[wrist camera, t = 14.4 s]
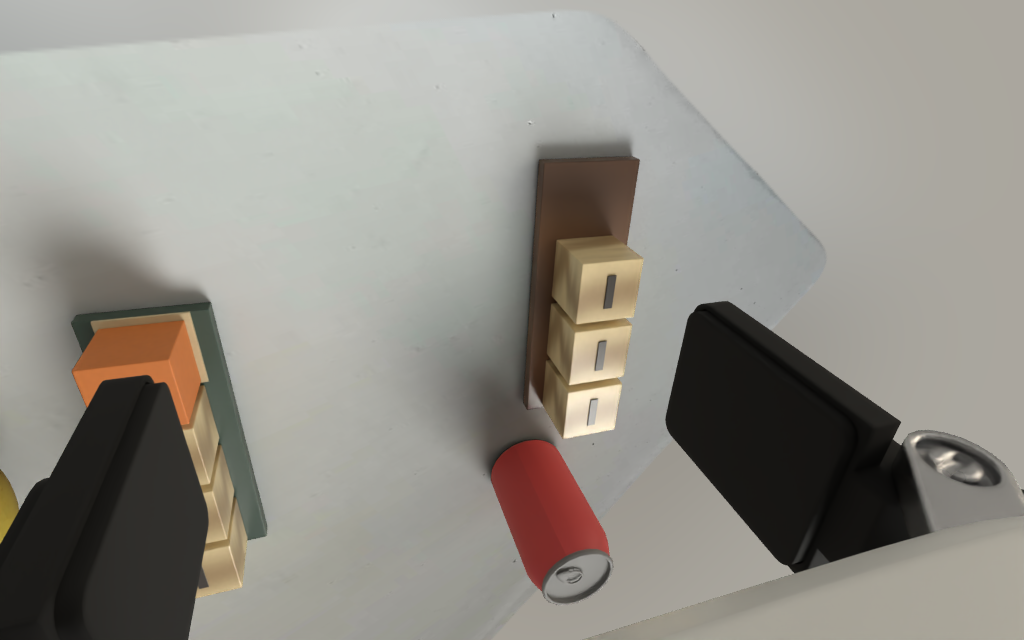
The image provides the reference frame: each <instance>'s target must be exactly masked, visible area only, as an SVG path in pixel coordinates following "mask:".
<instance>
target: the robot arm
mask: <svg viewBox="0 0 1024 640" xmlns="http://www.w3.org/2000/svg"><path fill="white" fill-rule="evenodd" d="M900 423H901V422H900V421H899V420H898V419H896V418H895V417H893V416H892V415H891V414H889V413H888V412H886V411H885V410H883V409H882V408H881V407H879V406H877V405H876V404H875V403H873V402H872V401H871V400H869V399H868V398H866V397H865V396H863V395H862V394H860V393H859V392H858V391H856V390H855V389H854V388H852V387H851V386H849V385H848V384H846V383H845V382H844V381H842V380H841V379H839V378H838V377H836V376H835V375H833V374H832V373H831V372H829V371H828V370H826V369H825V368H824V367H822V366H821V365H819V364H818V363H816V362H815V361H813V360H812V359H811V358H809V357H807V356H806V355H804V354H803V353H802V352H800V351H799V350H798V349H796V348H795V347H793V346H792V345H790V344H789V343H788V342H786V341H785V340H783V339H782V338H781V337H779V336H778V335H776V334H775V333H773V332H772V331H771V330H769V329H768V328H766V327H765V326H763V325H762V324H761V323H759V322H758V321H756V320H755V319H753V318H752V317H751V316H749V315H748V314H746V313H745V312H743V311H742V310H741V309H739V308H738V307H736V306H735V305H733V304H732V303H730V302H728V301H722V302H714V303H707V304H701V305H699V306H697V308H696V309H695V310H694V312H693V313H691V314H690V316H689V318H688V320H687V325H686V329H685V334H684V338H683V343H682V347H681V351H680V356H679V360H678V365H677V369H676V373H675V378H674V382H673V387H672V391H671V395H670V400H669V404H668V409H667V413H666V426H667V429H668V431H669V433H670V435H671V436H672V437H673V438H674V439H675V441H676V442H677V443H678V444H679V445H680V446H681V448H682V449H683V450H684V451H685V452H686V454H687V455H688V456H689V457H690V458H691V459H692V461H693V462H694V463H695V464H696V465H697V466H698V468H699V469H700V470H701V471H702V472H703V473H704V475H705V476H706V477H707V478H708V479H709V480H710V482H711V483H712V484H713V485H714V486H715V488H716V489H717V490H718V491H719V492H720V493H721V495H722V496H723V497H724V498H725V499H726V500H727V502H728V503H729V504H730V505H731V506H732V507H733V509H734V510H735V511H736V512H737V513H738V515H739V516H740V517H741V518H742V519H743V520H744V522H745V523H746V524H747V525H748V526H749V528H750V529H751V530H752V531H753V532H754V533H755V535H756V536H757V537H758V538H759V539H760V540H761V542H762V543H763V544H764V545H765V546H766V547H767V549H768V550H769V551H770V552H771V553H772V555H773V556H774V557H775V558H776V559H777V560H778V561H779V562H780V563H782V564H784V565H788V566H789V567H790V569H791V570H792V571H793V572H794V573H795V574H792V575H789V576H785V577H782V578H779V579H776V580H772V581H769V582H766V583H763V584H759V585H756V586H753V587H749V588H746V589H743V590H740V591H737V592H734V593H730V594H727V595H724V596H721V597H717V598H714V599H711V600H708V601H705V602H702V603H698V604H695V605H692V606H689V607H686V608H682V609H679V610H676V611H673V612H670V613H667V614H663V615H660V616H657V617H654V618H650V619H647V620H644V621H641V622H638V623H635V624H631V625H628V626H625V627H622V628H619V629H616V630H612V631H609V632H606V633H603V634H600V635H597V636H594V637H590V638H588V639H584V640H1024V490H1022V489H1020V487H1019V485H1018V483H1017V481H1016V480H1015V478H1014V476H1013V474H1012V473H1011V472H1010V470H1009V469H1008V468H1007V467H1006V465H1005V464H1004V463H1003V462H1001V461H1000V460H999V459H998V458H997V457H996V456H994V455H993V454H992V453H990V452H988V451H987V450H985V449H983V448H982V447H980V446H979V445H976V444H974V443H972V442H970V441H968V440H965V439H963V438H961V437H958V436H954V435H951V434H948V433H944V432H938V431H932V430H918V431H915V432H912V433H910V434H908V436H907V437H906V438H905V440H904V442H903V443H902V445H899V444H898V443H897V442H895V441H894V440H893V438H894V435H895V433H896V431H897V429H898V427H899V425H900ZM208 526H209V517H208V508H207V504H206V501H205V498H204V495H203V492H202V489H201V486H200V482H199V479H198V476H197V473H196V470H195V467H194V464H193V461H192V457H191V454H190V451H189V448H188V445H187V442H186V439H185V436H184V433H183V429H182V426H181V423H180V420H179V417H178V414H177V411H176V408H175V404H174V401H173V398H172V395H171V392H170V389H169V387H168V385H167V384H166V383H165V382H160V383H154V381H153V379H152V378H151V376H149V375H141V376H133V377H125V378H117V379H109V380H104V381H102V382H101V384H100V385H99V387H98V389H97V390H96V392H95V394H94V396H93V398H92V400H91V402H90V403H89V405H88V407H87V409H86V411H85V413H84V415H83V416H82V418H81V420H80V422H79V424H78V426H77V428H76V429H75V431H74V433H73V435H72V437H71V439H70V441H69V442H68V444H67V446H66V448H65V450H64V452H63V454H62V455H61V457H60V459H59V461H58V463H57V465H56V467H55V468H54V470H53V472H52V474H51V476H50V478H46V479H43V480H41V481H39V482H38V483H36V484H35V486H34V487H33V488H32V490H31V491H30V492H29V494H28V496H27V497H26V499H25V501H24V503H23V504H22V506H21V508H20V510H19V512H18V513H17V515H16V517H15V519H14V520H13V522H12V524H11V526H10V528H9V529H8V531H7V533H6V535H5V536H4V538H3V540H2V542H1V544H0V640H188V637H189V631H190V626H191V620H192V615H193V609H194V604H195V599H196V593H197V588H198V582H199V577H200V571H201V566H202V560H203V555H204V549H205V544H206V538H207V533H208Z"/></svg>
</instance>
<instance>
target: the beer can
mask: <svg viewBox="0 0 1024 640" xmlns="http://www.w3.org/2000/svg"><path fill="white" fill-rule="evenodd" d="M491 481H492V484H493V488H494V490H495V493H496V495H497V498H498V500H499V503H500V505H501V508H502V511H503V513H504V516H505V518H506V521H507V523H508V526H509V529H510V531H511V534H512V536H513V539H514V541H515V544H516V547H517V549H518V552H519V554H520V557H521V559H522V562H523V564H524V567H525V570H526V572H527V575H528V576H529V578H530V579H531V581H532V582H533V583H534V584H535V585H536V586H537V587H538V588H539V589H540V590H541V591H542V593H543V596H544V598H545V599H546V600H547V601H548V602H550V603H553V604H556V605H570V604H573V603H578V602H580V601H583V600H585V599H587V598H589V597H590V596H592V595H593V594H595V593H596V592H598V591H599V590H600V589H601V588H602V587H603V586H604V585H605V584H606V582H607V581H608V580H609V578H610V577H611V574H612V570H613V561H612V559H611V558H610V555H609V547H608V541H607V538H606V535H605V532H604V530H603V528H602V527H601V525H600V523H599V521H598V520H597V518H596V516H595V514H594V513H593V511H592V509H591V507H590V506H589V504H588V502H587V500H586V498H585V497H584V495H583V493H582V491H581V490H580V488H579V486H578V484H577V483H576V481H575V479H574V477H573V476H572V474H571V472H570V470H569V469H568V467H567V465H566V463H565V461H564V460H563V458H562V456H561V454H560V453H559V451H558V450H557V449H556V447H555V446H554V445H552V444H550V443H548V442H546V441H541V440H528V441H523V442H520V443H518V444H515V445H513V446H512V447H510V448H509V449H507V450H506V451H504V452H503V453H502V455H501V456H500V457H499V458H498V459H497V461H496V462H495V464H494V466H493V468H492V475H491Z"/></svg>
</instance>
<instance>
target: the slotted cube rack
mask: <svg viewBox="0 0 1024 640" xmlns="http://www.w3.org/2000/svg"><path fill="white" fill-rule="evenodd" d="M182 320H184V322H185V325H186V329H187V332H188V336H189V339H190V343H191V346H192V350H193V353H194V357H195V360H196V364H197V368H198V371H199V375H200V378H201V382H200V386H199V390H198V393H197V397H196V401H195V404H194V408H193V411H192V415H191V419H190V422H189V424H184V425H181V426H182V429H183V433H184V436H185V439H186V442H187V445H188V448H189V451H190V454H191V457H192V461H193V464H194V467H195V470H196V473H197V476H198V479H199V482H200V486H201V489H202V492H203V495H204V498H205V501H206V504H207V508H208V517H209V526H208V533H207V538H206V544H205V549H204V555H203V560H202V566H201V571H200V577H199V582H198V588H197V593H196V598H199V597H203V596H208V595H212V594H216V593H220V592H225V591H229V590H233V589H237V588H241V587H242V584H243V575H244V565H245V556H246V547H247V540H251V539H256V538H260V537H265V536H267V523H266V519H265V515H264V511H263V507H262V503H261V499H260V495H259V491H258V488H257V484H256V480H255V476H254V472H253V468H252V464H251V460H250V456H249V452H248V448H247V444H246V440H245V436H244V432H243V428H242V424H241V420H240V416H239V412H238V408H237V404H236V400H235V396H234V392H233V388H232V384H231V380H230V376H229V372H228V368H227V365H226V361H225V357H224V353H223V349H222V345H221V341H220V337H219V333H218V329H217V325H216V321H215V317H214V313H213V309H212V305H211V302H207V303H197V304H187V305H176V306H166V307H155V308H145V309H135V310H124V311H114V312H104V313H93V314H83V315H77V316H76V317H75V318H74V320H73V321H72V322H71V324H72V327H73V329H74V332H75V334H76V337H77V339H78V342H79V344H80V347H81V349H82V352H84V351H85V349H86V348H87V346H88V344H89V343H90V341H91V340H92V338H93V336H94V335H95V333H96V332H97V330H98V329H105V328H115V327H124V326H134V325H143V324H153V323H162V322H172V321H182Z"/></svg>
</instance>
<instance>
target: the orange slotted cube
mask: <svg viewBox="0 0 1024 640" xmlns="http://www.w3.org/2000/svg"><path fill="white" fill-rule="evenodd" d="M72 374H73V376H74V379H75V381H76V383H77V386H78V388H79V390H80V393H81V395H82V398H83V400H84V402H85V405H86V407H88V405H89V403H90V402H91V400H92V398H93V396H94V394H95V392H96V390H97V389H98V387H99V385H100V384H101V382H102V381H104V380H109V379H117V378H125V377H133V376H141V375H149V376H151V378H152V379H153V381H154V383H160V382H165V383H166V384H167V385H168V387H169V389H170V392H171V395H172V398H173V401H174V404H175V408H176V411H177V414H178V417H179V420H180V423H181V425H184V424H189V422H190V419H191V415H192V411H193V408H194V404H195V401H196V397H197V393H198V390H199V386H200V382H201V378H200V375H199V371H198V368H197V364H196V360H195V357H194V353H193V350H192V346H191V343H190V339H189V336H188V332H187V329H186V325H185V322H184V320H182V321H172V322H162V323H153V324H143V325H134V326H124V327H115V328H105V329H98V330H97V332H96V333H95V335H94V336H93V338H92V340H91V341H90V343H89V344H88V346H87V348H86V349H85V351H84V352H83V354H82V355H81V357H80V359H79V360H78V362H77V363H76V365H75V366H74V368H73V370H72Z"/></svg>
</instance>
